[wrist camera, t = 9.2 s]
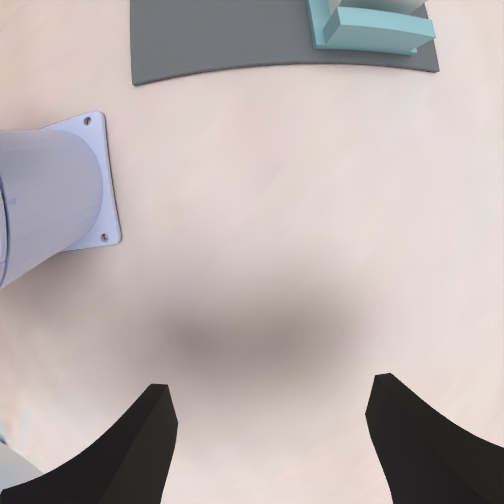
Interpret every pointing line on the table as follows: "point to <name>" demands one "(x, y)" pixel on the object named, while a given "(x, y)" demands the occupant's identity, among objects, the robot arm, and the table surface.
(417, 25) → the connector holder
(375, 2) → the connector plug
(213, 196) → the table surface
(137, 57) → the desk mat
